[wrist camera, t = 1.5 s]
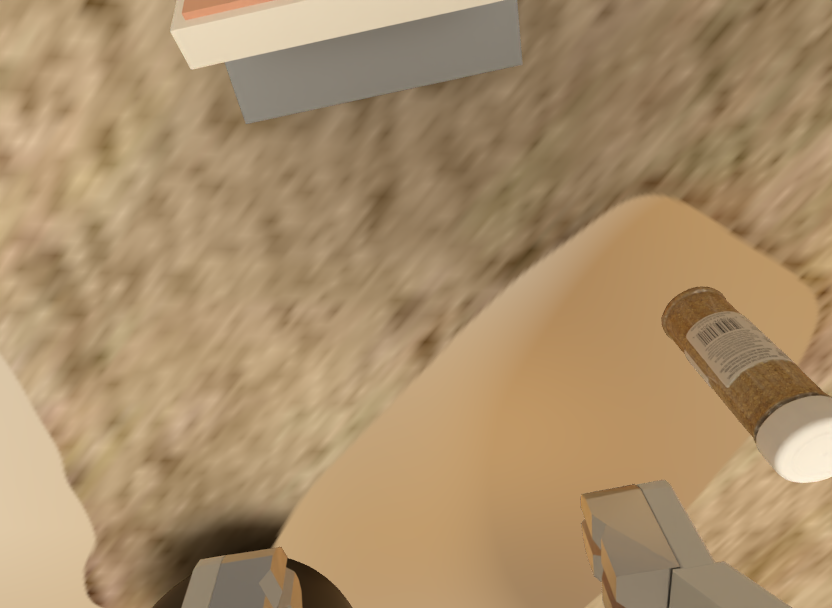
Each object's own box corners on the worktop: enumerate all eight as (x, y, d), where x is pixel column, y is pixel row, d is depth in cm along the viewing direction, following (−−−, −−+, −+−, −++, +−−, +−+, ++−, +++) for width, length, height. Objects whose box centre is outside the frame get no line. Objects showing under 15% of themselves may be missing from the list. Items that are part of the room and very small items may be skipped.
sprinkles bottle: (661, 345, 40) (774, 495, 29) (658, 293, 38) (779, 434, 26) (724, 329, 40) (866, 475, 28) (725, 275, 37) (879, 410, 26)
